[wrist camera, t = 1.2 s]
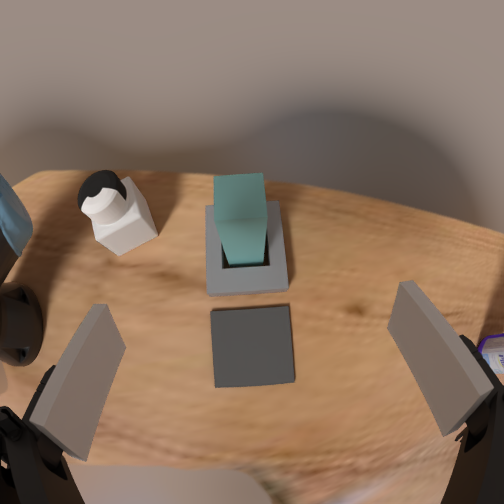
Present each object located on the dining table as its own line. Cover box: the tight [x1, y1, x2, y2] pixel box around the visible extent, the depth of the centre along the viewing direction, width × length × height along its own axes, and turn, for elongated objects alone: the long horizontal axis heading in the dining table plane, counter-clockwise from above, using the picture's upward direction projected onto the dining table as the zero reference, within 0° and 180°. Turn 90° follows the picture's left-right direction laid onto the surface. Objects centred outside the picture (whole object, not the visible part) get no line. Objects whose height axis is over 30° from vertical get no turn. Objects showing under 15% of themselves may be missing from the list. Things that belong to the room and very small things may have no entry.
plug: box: [214, 173, 268, 267], centre depth 30 cm, size 4×4×15 cm
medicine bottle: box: [78, 170, 158, 256], centre depth 33 cm, size 7×7×12 cm
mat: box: [210, 306, 294, 388], centre depth 33 cm, size 10×10×1 cm
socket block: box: [206, 201, 289, 297], centre depth 36 cm, size 10×12×2 cm
